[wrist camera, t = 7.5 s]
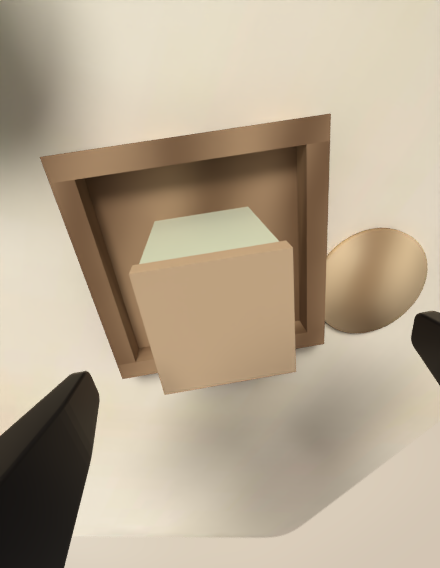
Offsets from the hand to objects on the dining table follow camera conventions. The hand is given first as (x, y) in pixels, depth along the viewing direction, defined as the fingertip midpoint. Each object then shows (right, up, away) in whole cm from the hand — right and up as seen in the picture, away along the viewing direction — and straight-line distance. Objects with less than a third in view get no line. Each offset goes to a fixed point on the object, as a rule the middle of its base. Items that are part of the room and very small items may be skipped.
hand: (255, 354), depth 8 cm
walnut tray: (-2, +4, +11) cm, 12 cm away
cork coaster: (+10, +2, +13) cm, 16 cm away
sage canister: (-2, +4, +11) cm, 11 cm away
